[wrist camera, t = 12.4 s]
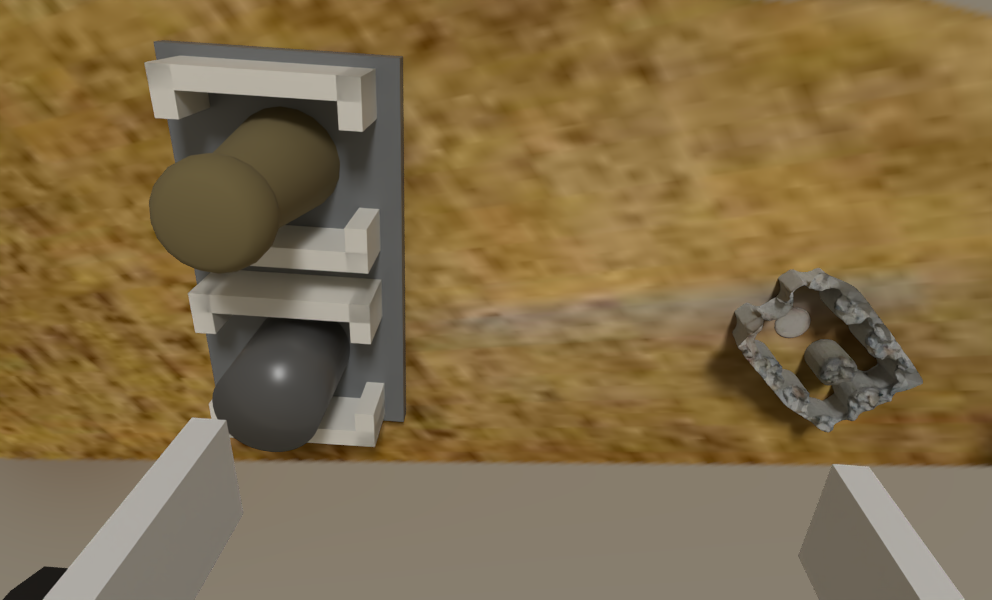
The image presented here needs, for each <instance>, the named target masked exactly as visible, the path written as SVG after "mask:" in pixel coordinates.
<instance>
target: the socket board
mask: <svg viewBox="0 0 992 600" xmlns="http://www.w3.org/2000/svg"><path fill="white" fill-rule="evenodd" d="M154 47H155V52H156V58H157V60H154V61H149V62H144V63H145V68H146V73H147V79H148V84H149V89H150V94H151V100H152V105H153V110H154V116H155V118H165V119H168V125H169V130H170V136H171V141H172V147H173V153H174V158H175V163H176V162H178V161H180V160H182V159H184V158H186V157H188V156H190V155H198V154H205V153H213V152H214V151H215V150H216V149H217V148H218V147H219V146H220V145H221V144H222V143H223V142H224V141H225V140H226V139H227V138H228V137H229V136H230V135H231V134H232V133H233V132H234V131H235V130H236V129H237V128H238V127H239V126H240V125H241V124H242V123H243V122H244V121H245V120H246V119H247V118H248V117H249V116H251V115H253V114H254V113H256V112H258V111H260V110H262V109H264V108H271V107H278V106H281V107H287V108H292V109H297V110H299V111H301V112H303V113H305V114H307V115H309V116H311V117H313V118H314V119H315V120H316V121H317V122H318V123H319V124H320V125H321V126H322V127H323V128H325V129H326V130H327V132H328V134H329V135H330V137H331V139H332V140H333V142H334V144H335V145H336V148H337V152H338V156H339V160H340V172H339V180H338V182H337V185H336V187H335V189H334V192H333V193H332V194H331V195H330V196H329V197H328V198H327V199H326V201H325V202H324V203H322V204H321V205H319V206H317V207H315V208H314V209H312V210H310V211H308V212H307V213H305V214H303V215H301V216H300V217H298V218H296V219H294V220H293V221H291V222H289V223H287V224H286V225H284V226H282V227H280V228H279V229H278V232H277V235H276V237H275V240H274V242H273V245H272V246H271V248H270V249H269V250H268V251H267V252H266V253H265V254H264V255H263V256H262V257H261V258H260V259H259V260H258V261H257V262H256V263H254V264H252V265H250V266H248V267H246V268H244V269H242V270H239V271H236V272H229V273H221V274H218V273H212V272H206V271H201V270H197V269H195V268H194V269H195V275H196V280H197V285H196V286H195V287H194V288H193V289H192V290H191V291H190V292H189V293H188V296H189V301H190V306H191V312H192V317H193V322H194V328H195V333H206V336H207V342H208V347H209V353H210V358H211V364H212V369H213V375H214V381H215V386H216V387H215V389H214V392H213V399H212V400H211V402H210V403H209V407H210V412H211V418H212V419H217V420H226V421H227V427H228V432H229V437H231V438H235V439H237V440H238V441H240V442H242V443H243V444H245V445H248V446H250V447H252V448H255V449H259V450H263V451H270V452H283V451H289V450H293V449H296V448H298V447H301V446H303V445H304V444H306V443H322V444H337V445H352V446H367V447H375V445H376V442H377V438H378V435H379V432H380V429H381V425H382V422H383V420H384V421H399V422H404V418H405V415H406V366H405V247H404V127H403V56H389V55H374V54H359V53H344V52H329V51H315V50H300V49H285V48H270V47H255V46H241V45H226V44H211V43H196V42H181V41H167V40H162V41H155V42H154Z"/></svg>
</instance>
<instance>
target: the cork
mask: <svg viewBox="0 0 992 600" xmlns="http://www.w3.org/2000/svg"><path fill="white" fill-rule="evenodd" d="M339 172H340V160H339V156H338V152H337V148H336V145H335V144H334V142H333V140H332V139H331V137H330V135H329V134H328V132H327V130H326V129H325V128H323V127H322V126H321V125H320V124H319V123H318V122H317V121H316V120H315V119H314V118H313V117H311V116H309V115H307V114H305V113H303V112H301V111H299V110H297V109H292V108H287V107H281V106H278V107H271V108H264V109H262V110H260V111H258V112H256V113H254V114H253V115H251V116H249V117H248V118H247V119H246V120H245V121H244V122H243V123H242V124H241V125H240V126H239V127H238V128H237V129H236V130H235V131H234V132H233V133H232V134H231V135H230V136H229V137H228V138H227V139H226V140H225V141H224V142H223V143H222V144H221V145H220V146H219V147H218V148H217V149H216V150H215V151H214V152H213V153H205V154H198V155H190V156H188V157H186V158H184V159H182V160H180V161H178V162H176V163H175V164H173V165H171V166H169V167H168V168H167V169H166V170H165V171H164V173H163V174H162V175H161V176H160V178H159V179H158V180H157V182H156V183H155V184H154V186H153V189H152V193H151V196H150V200H149V207H150V219H151V224H152V226H153V229H154V231H155V234H156V236H157V238H158V240H159V241H160V242H161V244H162V245H163V246H164V247H165V249H166V250H167V251H168V252H169V253H170V254H171V255H173V256H174V257H175V258H176V259H178V260H179V261H180V262H181V263H184V264H186V265H188V266H190V267H192V268H195V269H197V270H201V271H206V272H212V273H218V274H221V273H229V272H236V271H239V270H242V269H244V268H246V267H248V266H250V265H252V264H254V263H256V262H257V261H258V260H259V259H260V258H261V257H262V256H263V255H264V254H265V253H266V252H267V251H268V250H269V249H270V248H271V246H272V245H273V242H274V240H275V237H276V235H277V232H278V229H279V228H280V227H282V226H284V225H286V224H287V223H289V222H291V221H293V220H294V219H296V218H298V217H300V216H301V215H303V214H305V213H307V212H308V211H310V210H312V209H314V208H315V207H317V206H319V205H321V204H322V203H324V202H325V201H326V199H327V198H328V197H329V196H330V195H331V194H332V193H333V192H334V189H335V187H336V185H337V182H338V180H339Z"/></svg>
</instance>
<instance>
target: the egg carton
mask: <svg viewBox="0 0 992 600" xmlns="http://www.w3.org/2000/svg"><path fill="white" fill-rule="evenodd" d="M778 280H779V282H780V292H779V294H778V296H777V297H775V298H773V299H771V300H770V301H768V302H767V303H765V304H763V305H762V306H754V305H751V304H749V303H745V304H743V305H742V306H741V307H739V308H738V309H737V310H735V315H736V318H737V325H736V328H735V329H734V330H733V332H732V333H733V337H734V338H735V341H736V344H737V346H738V349H740V350H741V351H742V353H743V355H744V356H745V358H746V359H747V360H748V361H749V362H750V364H751V365H752V366H753V367H754V368H755V370H756V371H757V372H758V373H759V374H760V375H761V377H762V378H763V379H764V380H765V382H766V383H767V384H768V385H769V386H770V387H771V389H772V390H773V391H774V392H775V393H776V395H777V396H778V397H779V398H780V399H781V400H782V402H783V403H784V404H785V405H786V406H787V407H788V408H790V409H791V410H793V411H794V412H796V413H797V414H799V415H801V416H802V417H804V418H805V419H807V420H809V421H811V422H812V423H813V424H814V425H815V426H816V427H818V428H819V429H820V430H822V431H825V432H830V431H832V430H833V426H834V424H836V423H837V422H839V421H841V420H846V419H847V420H850V421H854V420H856V418H857V417H858V415H859V414H860V413H861V412H864V411H870V410H873V409H874V408H875V407H876V406H877V405H880V404H883V403H885V402H888V401H891V399H892V397H893V395H894V394H895V393H896V392H901V391H905V390H908V389H911V388H913V387H916V386H918V385H920V384H923V380H922V378H921V377H920V375H919V373H918V372H917V370H916V368H915V367H914V365H913V364H912V362H911V361H910V359H909V358H908V357H907V356H906V354H905V353H904V352H903V350H902V349H901V347H900V345H899V344H898V343H897V342H896V340H895V338H894V337H893V335H892V334H891V332H890V331H889V330H888V328H887V327H886V326H885V325H884V324H883V322H882V321H881V319H880V318H879V316H878V315H877V314H876V313H875V311H874V310H873V309H872V307H871V306H870V304H869V303H868V302H867V300H866V299H865V298H864V297H863V295H862V294H861V293H860V292H859V291H858V290H857V289H856V288H855V287H854V286H852V285H850V284H848V283H846V282H844V281H842V280H839V279H837V278H834V277H832V276H830V275H828V274H826V273H825V272H824V271H822V270H821V269H820V268H816V269H814V270H812V271H809V272H798V271H795V270H793V269H792V270H789V271H787V272H786V273H784V274H782V275H781V276H780V277H779V278H778ZM805 285H806V286H807V287H808V288H809V289H814V290H815V291H819V296H820V299H821V300H822V301H823V302H824V303H825V304H826V305H827V307H828V308H829V309H830V310H831V311H832V312H833V313H834V314H835V315H836V316H837V317H839V318H840V319H841V320H843V321H844V322H845V323H846V325H849V330H850V332H851V333H852V334H853V335H854V336H855V337H856V338H857V339H858V341H859V342H860V343H861V344H862V345H863V346H864V347H865V348H866V349H867V351H868V353H869V354H871V355H872V356H874V357H875V358H877V362H878V364H877V365H876V366H874V367H872V368H871V369H869V370H867V371H861V370H858V369H857V365H856V364H855V362H854V361H853V360H852V358H851V357H850V356H849V355H848V354H847V353H846V352H845V351H844V350H843V349H842V348H841V347H840V346H839V345H838V344H837V343H836V342H835V341H833V340H829V339H820V340H817V341H815V342H813V343H812V344H811V345H809V346H808V348H807V349H806V351H805V354H804V358H805V362H806V363H807V364H808V366H809V367H810V368H811V370H812V371H813V372H814V373H815V375H816V376H817V378H818V379H819V380H820V381H821V382H822V383H824V384H825V385H832V388H833V390H834V394H833V395H831V396H830V397H828V398H827V399H825V400H823V401H821V400H819V399H816V398H811V397H810V398H809V394H810V393H809V392H808V391H807V390H806V389H805V388H804V386H803V385H802V383H801V382H800V381H799V379H798V378H797V377H796V375H795V374H794V373H792V372H791V371H789V370H785V369H782V366H781V365H780V364H779V362H778V361H777V360H776V359H775V357H774V356H773V355H772V353H771V352H770V350H769V349H768V348H767V346H766V345H765V344H764V343H762V342H761V341H758V340H755V337H756V335H757V333H758V332H760V331H761V329H762V326H763V322H764V321H763V320H768V321H771V320H776V321H775V330H776V332H777V333H778V334H780V336H782V337H786V338H793V337H797V336H800V335H802V334H803V333H804V332H805V331H806V330H807V329H808V328H809V325H810V321H811V320H810V316H809V314H808V312H807V311H806V310H804V309H801V308H792V306H793V292H794V291H795V290H796V289H798V288H799V287H801V286H805Z"/></svg>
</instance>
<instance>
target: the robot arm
mask: <svg viewBox="0 0 992 600" xmlns="http://www.w3.org/2000/svg"><path fill="white" fill-rule="evenodd" d="M242 515H243V508H242V503H241V497H240V492H239V486H238V481H237V476H236V471H235V465H234V459H233V454H232V448H231V443H230V437H229V432H228V427H227V421H226V420H217V419H203V418H191V419H190V421H189V422H188V423H187V424H186V426H185V427H184V428H183V429H182V430H181V432H180V433H179V434H178V435H177V437H176V438H175V439H174V440H173V441H172V443H171V444H170V445H169V446H168V447H167V449H166V450H165V451H164V452H163V454H162V455H161V456H160V457H159V458H158V460H157V461H156V462H155V463H154V465H153V466H152V467H151V468H150V469H149V471H148V472H147V473H146V475H145V476H144V477H143V478H142V479H141V480H140V482H139V483H138V484H137V485H136V486H135V488H134V489H133V490H132V492H131V493H130V494H129V495H128V496H127V497H126V499H125V500H124V501H123V503H122V504H121V505H120V506H119V507H118V509H117V510H116V511H115V512H114V513H113V515H112V516H111V517H110V518H109V520H108V521H107V522H106V523H105V524H104V526H103V527H102V528H101V529H100V530H99V532H98V533H97V534H96V535H95V537H94V538H93V539H92V540H91V541H90V543H89V544H88V545H87V546H86V547H85V549H84V550H83V551H82V552H81V554H80V555H79V556H78V557H77V558H76V560H75V561H74V562H73V563H72V564H71V566H70V567H69V568H57V567H43V568H42V569H40V570H39V571H37V572H36V573H35V574H33V575H32V576H31V577H29V578H28V579H26V580H25V581H24V582H22V583H21V584H20V585H18V586H17V587H16V588H14V589H13V590H11V591H10V592H9V593H8V595H6V596H5V598H4V599H3V600H195V598H196V596H197V594H198V593H199V591H200V589H201V587H202V586H203V584H204V582H205V580H206V579H207V577H208V575H209V573H210V571H211V570H212V568H213V566H214V565H215V563H216V561H217V559H218V557H219V555H220V554H221V552H222V550H223V549H224V547H225V545H226V543H227V542H228V540H229V538H230V536H231V534H232V533H233V531H234V529H235V527H236V526H237V524H238V522H239V520H240V519H241V517H242ZM798 556H799V559H800V561H801V563H802V565H803V567H804V569H805V571H806V573H807V575H808V577H809V580H810V582H811V584H812V586H813V588H814V590H815V592H816V594H817V596H818V598H819V600H965V599H964V597H963V596H962V595H961V593H960V592H959V590H958V589H957V588H956V586H955V585H954V584H953V582H952V581H951V579H950V578H949V577H948V575H947V574H946V573H945V571H944V570H943V568H942V567H941V566H940V564H939V563H938V562H937V560H936V559H935V557H934V556H933V555H932V553H931V552H930V551H929V549H928V548H927V546H926V545H925V543H924V542H923V541H922V539H921V538H920V537H919V535H918V534H917V533H916V531H915V530H914V528H913V527H912V526H911V524H910V523H909V521H908V520H907V519H906V517H905V516H904V515H903V513H902V512H901V510H900V509H899V508H898V506H897V505H896V503H895V502H894V501H893V499H892V498H891V497H890V495H889V494H888V492H887V491H886V490H885V489H884V487H883V485H882V484H881V483H880V481H879V480H878V479H877V477H876V476H875V474H874V473H873V472H872V470H871V469H870V467H866V466H852V465H838V464H832V467H831V469H830V472H829V475H828V478H827V480H826V483H825V486H824V488H823V491H822V494H821V496H820V499H819V502H818V504H817V507H816V510H815V512H814V515H813V518H812V520H811V523H810V526H809V528H808V531H807V534H806V536H805V539H804V542H803V544H802V547H801V550H800V552H799V555H798Z"/></svg>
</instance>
